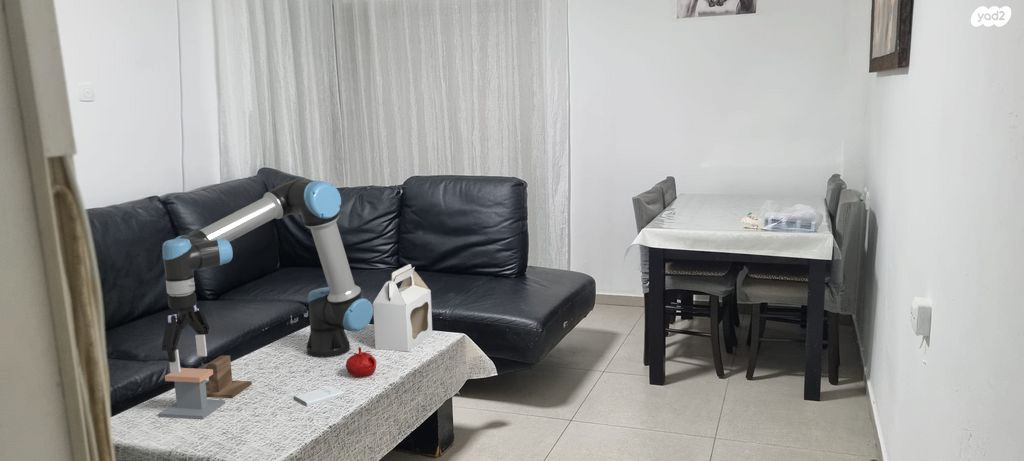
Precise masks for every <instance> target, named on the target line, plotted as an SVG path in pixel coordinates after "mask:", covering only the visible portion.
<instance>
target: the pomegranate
mask: <svg viewBox="0 0 1024 461" xmlns="http://www.w3.org/2000/svg"><path fill="white" fill-rule="evenodd" d="M357 350H358V353H357V352H350V353H348V352H347V354H348V355H351V354H352V355H351V356H350V357H348V359H347V360H346V362H345V369H346V371H347V374H349V375H350V376H352V377H354V378H360V379H361V378H366V377H371V376H372V375H374V373H375V371H376V368H377V359H376V357H374V356H373V354H372V353H371V350H366V351H363V352H362V346H358V347H357Z"/></svg>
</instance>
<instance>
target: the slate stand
mask: <svg viewBox="0 0 1024 461" xmlns="http://www.w3.org/2000/svg"><path fill="white" fill-rule="evenodd" d="M173 382H174V391H175V392H174V393H175V394H174V395H175V400H176V401H175V402H174V403H173V404H171V405H169V406H168V407H167V408H165V409H162V411H160V412H158V414H157V415H158V418H172V419H189V420H190V419H191V420H204V419H206V418H207V417H209V416H210V415H211V414H212V413H214V412H215V411H216V410H218V409H219V408H221V407H222V406H224V405H225V404H226V400H225V399H212V398H211V399H210V398H209V399H208V397H207V394H206V383H207V382H206V379H205V380H203V381H202V382H200V383H197V382H177V381H173Z"/></svg>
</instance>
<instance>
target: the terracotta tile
mask: <svg viewBox="0 0 1024 461" xmlns="http://www.w3.org/2000/svg"><path fill="white" fill-rule="evenodd" d="M180 371H181V372H179V373H177V372H169V373H168V374H166V375H164V381H165V382H174V381H177V382H197V383H200V382H202V381H203V380H205V381H206V379H209V377H210V376H211V375H213V369H208V368H192V367H191V368H190V367H180Z"/></svg>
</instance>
